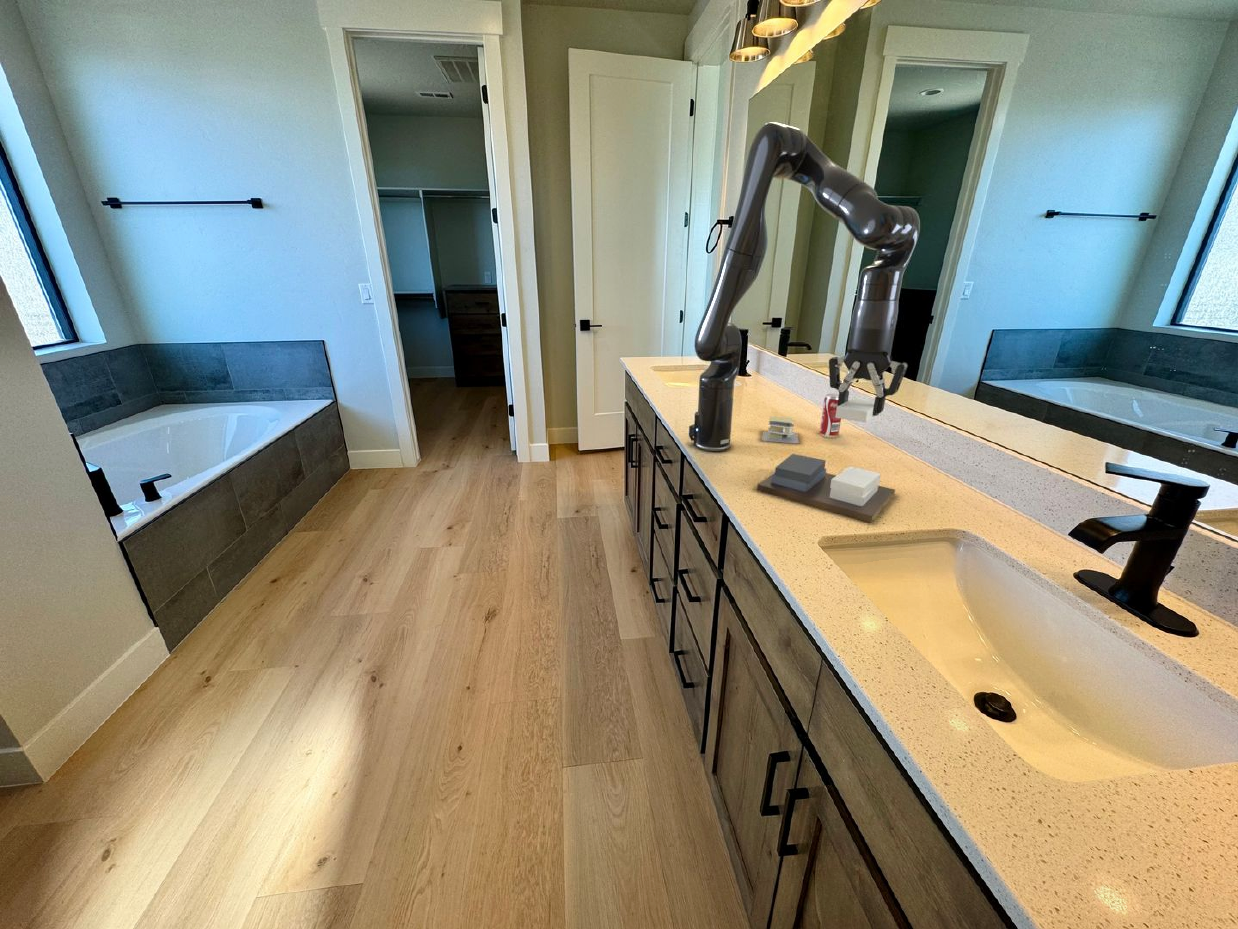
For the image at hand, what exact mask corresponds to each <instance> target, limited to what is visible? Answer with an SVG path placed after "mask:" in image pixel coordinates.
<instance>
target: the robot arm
mask: <svg viewBox="0 0 1238 929" xmlns="http://www.w3.org/2000/svg"><path fill="white" fill-rule="evenodd" d="M774 179H778V180H784V179H785V180H789V181H792V182H794V183H796V184H799V185H801V186H803V187H805V188H806V189H807V190H809V191H810V193H812V196H813V198H814V200H815V202H816V203H817V204H818V205H819V207H821V208H822V209H823V211H824V212H827V214H829V215H830V216H832V218H835V219H836V220H837V221H838V222H840V223H841V224H843V225H844V227H845V228H846V230H847V231H848V232H849V234H850V235H851V236H852V238H853V239H854V240H855V241H856V242H857V243H858V244H860V245H861V246H863V247H864V248H866V249H869V250H873V251H877V252H876V255H875V258H874V260H873V262H872V264H870V265H868V266H865V267H864V268H863V269H862V270H861V272H860V275H859V279H858V286H857V292H856V300H855V303H854V307H853V311H852V316H851V319H850V329H849V336H848V343H847V351H846V353H845V355H844V356H833V357H831V358H829V360H828V370H829V371H828V373H829V374H828V375H829V387H830V388H832V389H835V390H837V391H838V394H839V397H838V404H837V405H838V406H840V405H841V404H843V403H845V402H847V401H848V400H849V396H850V391H849V389H850V387H851V386H852V384H853V382H854V381H855V380H861V379H863V380H865V381H871V383H872V386H873V388H874V390H875V394H876V396H875V397H874V400H875V402H874V408H873V415H874V417H877V416H879V415H880V414H881V413H882V412H884V410H885V409H884V408H885V404H886V398H887V397H889V396H893V395H895V394H896V393H898V391H899V389H900V387H901V384H902V382H903V379H904V376H905V375H906V371H907V369H908V366H909V365H908V363H907V362H905V361H904V362H898V361H894V360H893V358H892V350H893V349H892V348H893V344H894V343H893V342H894V338H895V332H896V327H897V326H896V325H897V321H898V314H899V303H900V302H899V299H900V294H901V289H902V283H903V276H904V273H905V271H906V269H907V267H908V265H909V263H910V261H911V258H912V255H913V253H914V251H915V248H916V245H917V243H918V240H919V236H920V232H921V220H920V216H919V214H918V212H917V211H916V209H914V208H913V207H911V206H907V205H896V204H895V205H893V204H888V203H885V202H883V201H881V200H879V196H878V193H877V191H876V190H875V189H874V187H872V186H871V185H869V184H868V183H867V182H865V181H863V180H862V179H861V178H860V177H858V176H856V175H854V174H852V173H851V172H849V171H848V170H846V169H845V168H843V167H842V166H840V165H838V164H837V163H835V162H834V161H832V160H831V159H830V158H829V157H828V156H827V155H825V153H823V151H822V150H820V148H819V147H818V146H817V145H816V143H814V142H813V140H812V139H811V138H810V137H809V136H808V135H807V134H806V133H805V132H804V131H802V130H801V129H800V128H798V127H794V126H790V125H787V124H782V123H779V122H767V123H765V124H763V125H762V126H761V127H760V128H759V129H758V131H757V132H756V133H755V136H754V137H753V140H752V142H751V144H750V148H749V152H748V155H747V160H746V164H745V168H744V174H743V179H742V183H741V188H740V194H739V198H738V201H737V207H736V209H735V213H734V217H733V221H732V225H731V228H730V231H729V234H728V237H727V240H726V244H725V246H724V250H723V254H722V256H721V260H720V265H719V268H718V272H717V275H716V278H715V281H714V285H713V287H712V291H711V294H710V296H709V297H710V298H709V300H708V302H707V305H706V307H705V310H704V312H703V315H702V318H701V320H700V323H699V325H698V327H697V330H696V334H695V338H694V352H695V355H696V357H697V358H698V359H699V360H701V361H703V362H710V364H709V365H708V367H706V369H705V370H704V371H703V372H702V373H701V374H700V375H699V378H698V380H699V381H698V382H699V383H698V400H697V402H698V403H697V404H698V405H697V411H695V412H694V422H693V424H691V425H689V426H688V438H689V439H690V441H691V442H693V444H692V446H693V447H694V446H695V447H696V448H697V449H699V450H702V451H707V452H725V451H727V450H729V449H731V436H732V424H733V409H734V408H733V407H734V395H735V394H734V393H735V381H736V379H737V377H738V375H739V369H740V363H741V354H742V335H741V332H740V329H739V327H738V326H737V325H736V324H735V323H732V322H730V318H731V316H732V314H733V312H734V311H735V309H736V307H737V305H738V304H739V303H740V301H741V300H742V299H743V298H744V296H745V295H746V294H747V292H749V290H750V288H752V286H753V285H754V283H755V281H756V280H757V278H758V276H759V273H760V271H761V269H762V265H763V262H764V259H765V256H766V253H767V249H768V241H769V240H768V228H767V222H766V204H767V199H768V195H769V192H770V188H771V185H772V182H773V180H774ZM843 364H844V365H845V367H846V369H847V370H848V372H847V373H846V375H845V377H844V378H843V381H842V382H841V368H842V367H843ZM889 368H891V374H892V375H893V376H892V379H891V382H890V384H889V387H888V388H887V385H886V379H885V375H884V373H885V372H886V371H887V370H888V369H889Z"/></svg>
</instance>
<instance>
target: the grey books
mask: <svg viewBox="0 0 1238 929" xmlns="http://www.w3.org/2000/svg"><path fill="white" fill-rule="evenodd" d="M826 463H827V460H825V459H820V458H815V457H811V456H805V455H800V454H796V453H791V454H790V455H789V456H788V457H787V458H785V459H784V460H782V461H781V462H780V463H779V464H778V465H776V466H775V469H774V472H773V473H774V474H773V473H772V474H771V475H772V478H771V483H774V484H778V485H781V486H785V487H789V488H792V489H796V490H800V491H803V492H807V491H808V490H809V489H811V488H812V487H813V486H814V485H816V484H817V483H818V482H819V481H821V480H822V479H823V478H824V477H825V475H826V473H827V468H826Z"/></svg>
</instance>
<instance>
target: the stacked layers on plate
mask: <svg viewBox="0 0 1238 929" xmlns="http://www.w3.org/2000/svg"><path fill="white" fill-rule="evenodd" d="M795 422H796V421H795V420H794V419H793V418H792V417H789V416H769V421H768V425H769V427H768V431H762V437H761V441H762V442H773V443H786V444H799V443H800V442H799V434H798V433H795V432H794V431H793V430H794V428H795V424H793V423H795Z"/></svg>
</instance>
